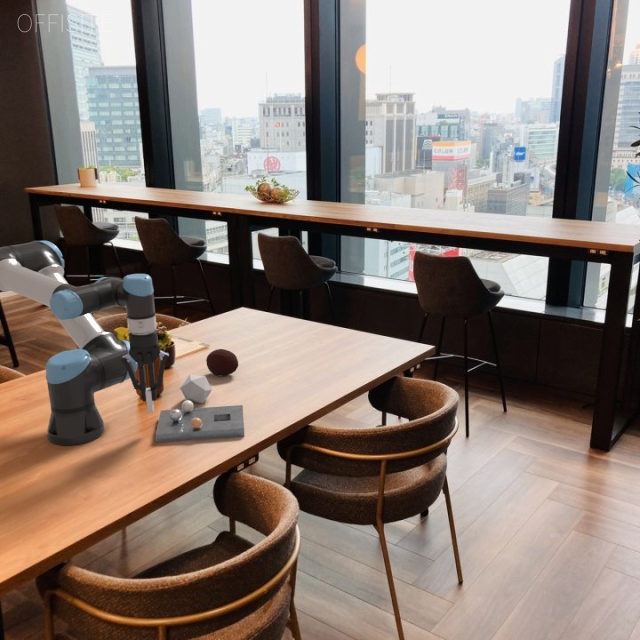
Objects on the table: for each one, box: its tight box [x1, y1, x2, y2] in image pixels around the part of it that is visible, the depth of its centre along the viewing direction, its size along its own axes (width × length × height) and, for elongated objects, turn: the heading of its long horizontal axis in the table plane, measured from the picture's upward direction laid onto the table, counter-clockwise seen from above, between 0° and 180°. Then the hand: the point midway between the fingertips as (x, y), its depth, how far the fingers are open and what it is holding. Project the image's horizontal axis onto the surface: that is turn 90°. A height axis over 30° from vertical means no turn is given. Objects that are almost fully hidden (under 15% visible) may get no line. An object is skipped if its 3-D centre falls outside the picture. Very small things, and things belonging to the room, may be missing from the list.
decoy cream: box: [181, 399, 194, 412], centre depth 203 cm, size 3×3×3 cm
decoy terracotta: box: [191, 418, 202, 429], centre depth 192 cm, size 3×3×3 cm
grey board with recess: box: [155, 404, 245, 443], centre depth 198 cm, size 24×16×2 cm, turn 98°
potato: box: [205, 348, 239, 377], centre depth 237 cm, size 9×12×9 cm
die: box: [179, 374, 213, 404], centre depth 216 cm, size 8×9×10 cm
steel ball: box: [170, 408, 182, 421], centre depth 197 cm, size 3×3×3 cm
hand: (150, 410), depth 195 cm, fingers closed
